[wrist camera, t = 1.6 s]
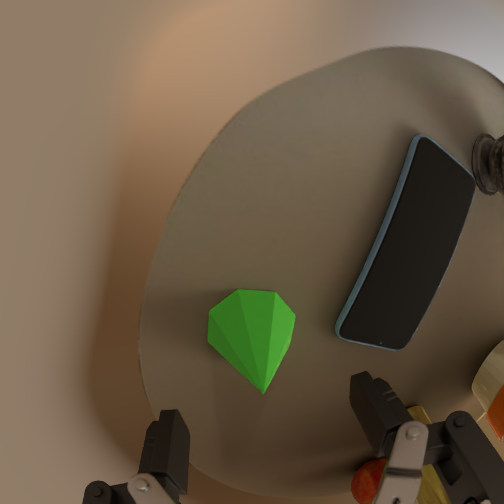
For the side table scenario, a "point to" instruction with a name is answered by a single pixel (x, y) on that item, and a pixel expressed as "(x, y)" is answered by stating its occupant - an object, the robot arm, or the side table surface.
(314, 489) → the side table surface
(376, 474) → the fruit
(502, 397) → the reusable coffee cup
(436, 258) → the smartphone
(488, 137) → the chess piece
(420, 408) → the vase
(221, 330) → the gemstone
